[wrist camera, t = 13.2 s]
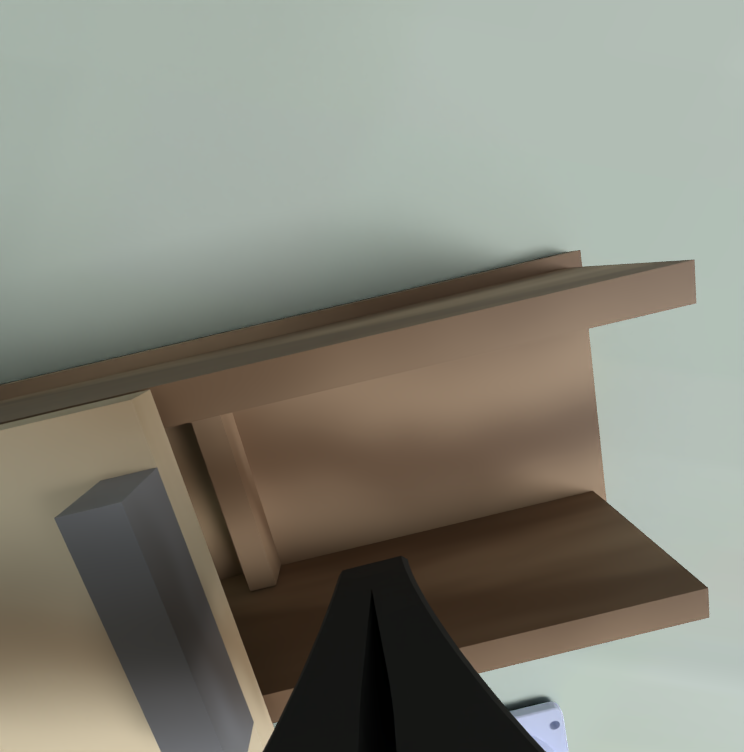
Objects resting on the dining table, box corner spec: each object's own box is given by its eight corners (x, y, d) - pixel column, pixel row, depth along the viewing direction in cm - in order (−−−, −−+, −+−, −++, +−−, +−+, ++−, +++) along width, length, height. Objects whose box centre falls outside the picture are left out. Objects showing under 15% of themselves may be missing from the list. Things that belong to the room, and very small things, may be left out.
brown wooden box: (596, 509, 18) (726, 627, 12) (43, 641, 18) (-117, 832, 12) (568, 251, 15) (715, 231, 9) (-78, 402, 15) (-362, 484, 9)
